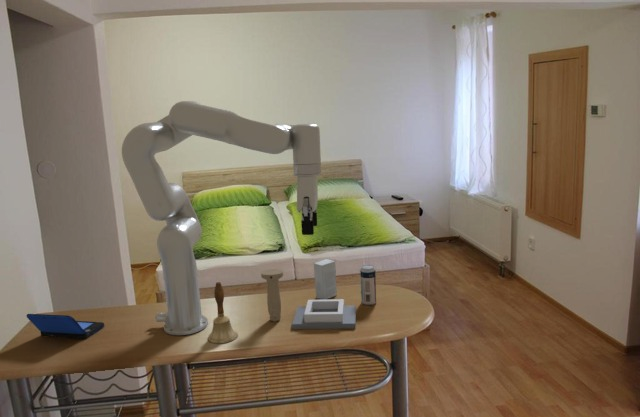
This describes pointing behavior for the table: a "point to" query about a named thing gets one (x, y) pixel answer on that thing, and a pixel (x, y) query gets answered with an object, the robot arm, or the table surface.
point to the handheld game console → (64, 326)
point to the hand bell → (221, 321)
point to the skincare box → (325, 279)
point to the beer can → (368, 285)
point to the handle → (273, 292)
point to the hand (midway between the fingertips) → (309, 230)
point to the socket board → (325, 315)
